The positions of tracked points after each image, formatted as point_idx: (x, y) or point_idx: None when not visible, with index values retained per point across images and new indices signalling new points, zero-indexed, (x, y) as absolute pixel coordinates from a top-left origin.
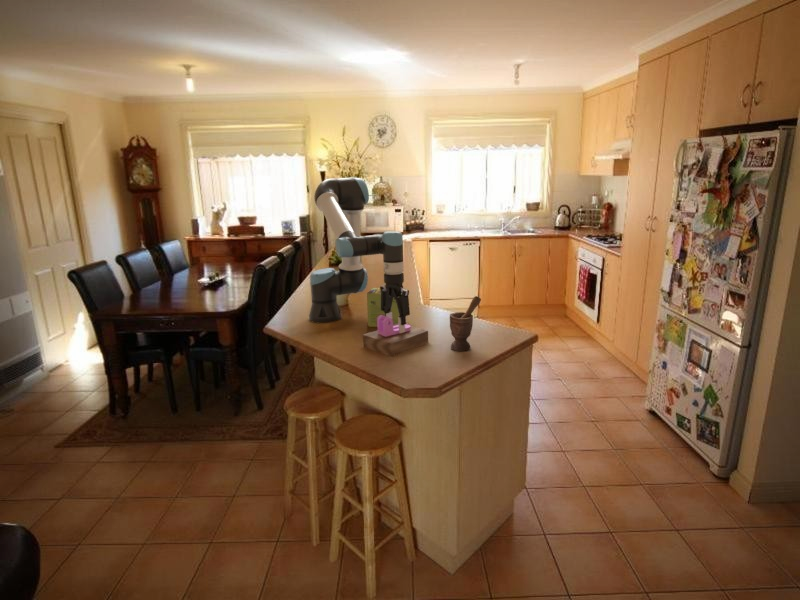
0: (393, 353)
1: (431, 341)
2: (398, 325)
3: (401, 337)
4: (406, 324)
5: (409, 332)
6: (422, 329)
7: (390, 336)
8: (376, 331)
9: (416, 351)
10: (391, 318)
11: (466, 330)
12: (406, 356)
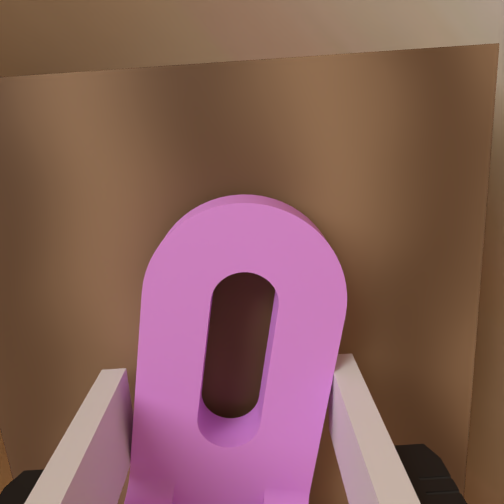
0: None
1: (428, 7)
2: (162, 324)
3: (406, 443)
4: (210, 216)
5: (350, 274)
6: (400, 64)
7: None
8: None
9: (489, 309)
10: (83, 483)
11: None
12: (495, 428)
